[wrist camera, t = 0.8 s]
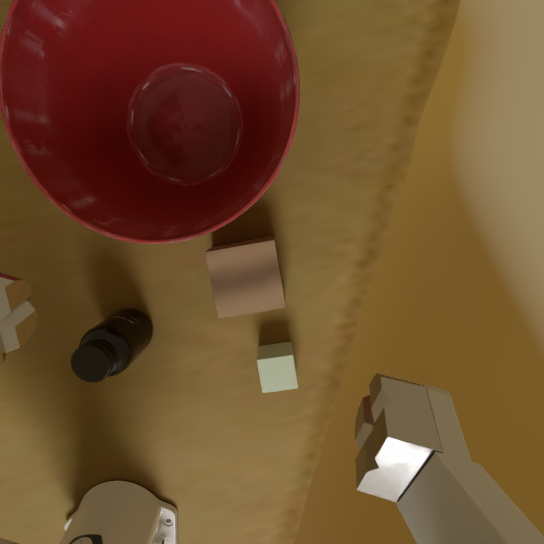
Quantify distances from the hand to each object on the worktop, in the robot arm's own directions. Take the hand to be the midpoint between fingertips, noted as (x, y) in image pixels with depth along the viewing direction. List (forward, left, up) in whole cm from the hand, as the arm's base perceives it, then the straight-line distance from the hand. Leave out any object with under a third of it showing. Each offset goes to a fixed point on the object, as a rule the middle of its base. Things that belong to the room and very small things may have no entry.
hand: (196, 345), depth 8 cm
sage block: (-20, +1, -44) cm, 48 cm away
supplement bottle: (-12, +22, -44) cm, 51 cm away
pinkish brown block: (-6, +3, -44) cm, 45 cm away
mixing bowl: (+15, +8, -44) cm, 47 cm away
